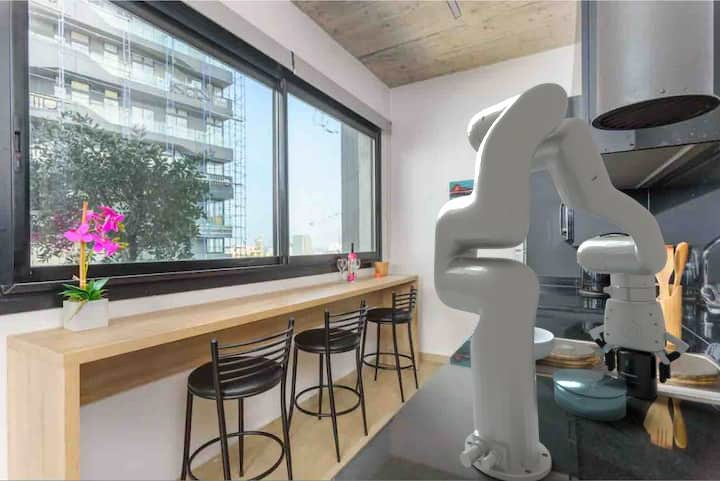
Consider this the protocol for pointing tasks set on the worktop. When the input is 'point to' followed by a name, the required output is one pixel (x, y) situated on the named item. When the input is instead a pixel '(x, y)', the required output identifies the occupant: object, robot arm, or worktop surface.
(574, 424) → the worktop surface
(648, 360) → the supplement bottle
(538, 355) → the cereal bowl
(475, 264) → the robot arm
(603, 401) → the biscuit tin
